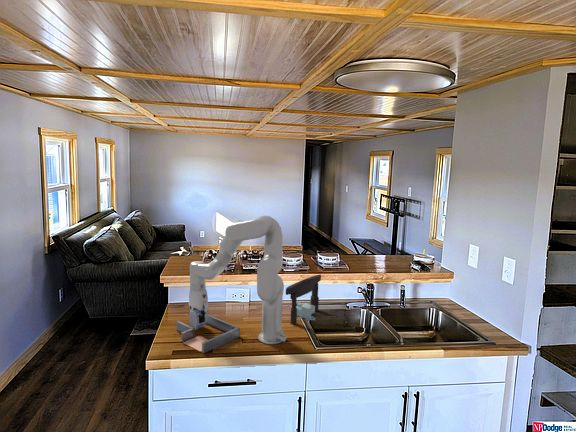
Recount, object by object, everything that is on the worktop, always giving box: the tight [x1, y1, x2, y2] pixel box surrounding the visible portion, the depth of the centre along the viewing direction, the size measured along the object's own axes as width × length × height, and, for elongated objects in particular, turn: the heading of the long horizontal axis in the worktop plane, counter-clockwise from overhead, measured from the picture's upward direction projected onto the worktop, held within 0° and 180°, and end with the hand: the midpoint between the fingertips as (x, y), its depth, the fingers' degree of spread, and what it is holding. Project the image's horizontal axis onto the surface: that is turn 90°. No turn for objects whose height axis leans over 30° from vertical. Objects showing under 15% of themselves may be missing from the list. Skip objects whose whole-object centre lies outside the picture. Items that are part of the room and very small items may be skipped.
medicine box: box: [189, 309, 208, 330], centre depth 203 cm, size 8×4×9 cm, turn 148°
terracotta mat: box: [182, 335, 209, 353], centre depth 188 cm, size 13×10×1 cm
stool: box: [285, 274, 322, 325], centre depth 221 cm, size 16×21×33 cm
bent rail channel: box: [176, 313, 241, 354], centre depth 196 cm, size 28×22×4 cm
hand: (198, 320), depth 203 cm, fingers closed on medicine box, 4 cm apart
